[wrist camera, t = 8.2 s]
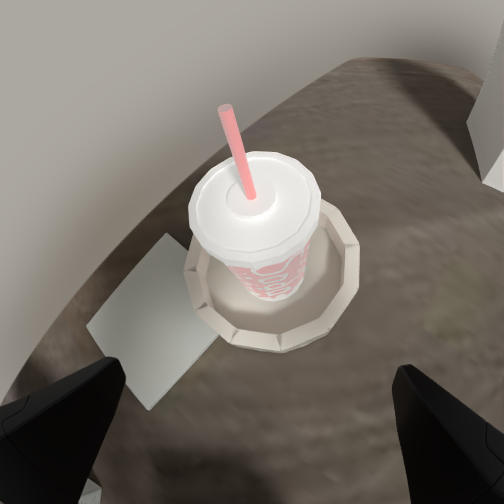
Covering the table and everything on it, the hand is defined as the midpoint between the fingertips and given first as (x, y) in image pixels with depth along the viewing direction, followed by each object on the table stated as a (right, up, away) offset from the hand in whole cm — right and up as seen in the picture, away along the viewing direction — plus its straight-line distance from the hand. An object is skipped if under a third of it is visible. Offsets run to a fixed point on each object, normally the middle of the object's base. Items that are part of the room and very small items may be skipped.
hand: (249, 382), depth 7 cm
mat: (-8, -2, +14) cm, 16 cm away
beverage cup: (+2, +2, +13) cm, 13 cm away
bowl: (+2, +2, +14) cm, 14 cm away
